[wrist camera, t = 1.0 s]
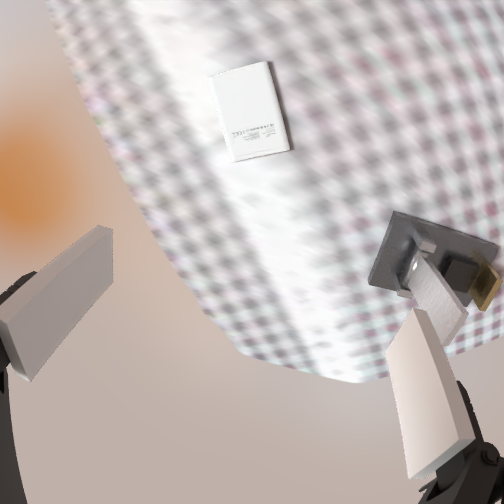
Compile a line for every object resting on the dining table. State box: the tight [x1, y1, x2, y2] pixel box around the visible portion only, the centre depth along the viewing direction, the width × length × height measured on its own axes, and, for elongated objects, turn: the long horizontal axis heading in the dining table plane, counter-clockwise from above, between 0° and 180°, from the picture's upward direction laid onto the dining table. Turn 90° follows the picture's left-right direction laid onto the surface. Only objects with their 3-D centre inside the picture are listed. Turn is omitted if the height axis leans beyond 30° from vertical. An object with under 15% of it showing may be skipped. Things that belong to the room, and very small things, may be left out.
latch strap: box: [402, 247, 469, 346], centre depth 36 cm, size 2×6×14 cm, turn 171°
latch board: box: [368, 211, 503, 311], centre depth 41 cm, size 20×12×6 cm, turn 81°
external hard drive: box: [207, 61, 290, 162], centre depth 39 cm, size 2×8×12 cm
